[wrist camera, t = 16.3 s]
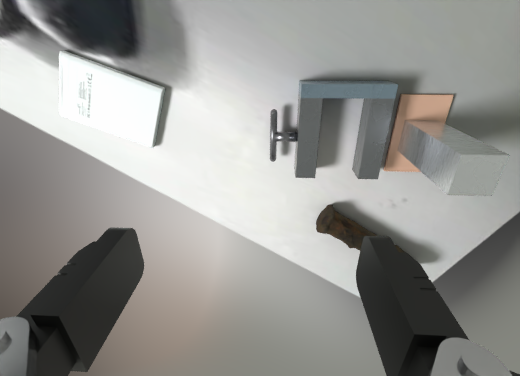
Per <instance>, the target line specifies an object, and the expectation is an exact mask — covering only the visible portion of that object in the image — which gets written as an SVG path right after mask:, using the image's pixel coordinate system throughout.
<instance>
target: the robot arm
mask: <svg viewBox="0 0 520 376" xmlns="http://www.w3.org/2000/svg"><path fill="white" fill-rule="evenodd" d="M143 270H144V261H143V257H142V253H141V249H140V245H139V242H138V238H137V234H136V232H135V230H134V229H133V228H109V229H108V230H107V231H106V232H105V233H104V234H103V235H102V236H101V237H100V238H99V239H98V240H97V242H92V243H90V244H89V245H87V246H86V247H84V248H83V249H81V250H80V251H78V252H77V253H76V254H75V255H74V256H73V257H72V258H71V259H70V261H69V262H68V263H67V265H66V266H64V267H63V268H62V269H61V270H60V271H59V272H58V275H57V276H54V277H53V278H52V279H51V280H50V282H49V283H48V284H47V285H46V286H45V287H44V288H43V289H42V290H41V291H40V292H39V293H38V294H37V295H36V296H35V297H34V298H33V300H31V301H30V303H29V304H28V305H27V306H26V307H25V308H24V309H23V310H22V311H21V312H20V313H19V314H18V315H17V316H16V317H8V318H4V319H1V320H0V376H68V374H69V373H70V371H81V372H87V371H88V370H89V368H90V366H91V365H92V363H93V361H94V359H95V358H96V356H97V354H98V352H99V350H100V349H101V347H102V345H103V344H104V342H105V340H106V339H107V336H108V335H109V333H110V331H111V330H112V328H113V326H114V324H115V323H116V321H117V319H118V318H119V316H120V314H121V312H122V311H123V309H124V307H125V305H126V304H127V302H128V300H129V298H130V297H131V295H132V293H133V292H134V290H135V288H136V286H137V285H138V283H139V281H140V279H141V277H142V274H143ZM428 278H429V277H428V276H427V274H426V273H425V271H424V270H423V268H422V266H421V265H420V264H419V263H418V262H417V261H416V260H415V259H413V258H412V257H411V256H410V255H409V254H407V253H404V252H398V250H397V248H396V247H395V245H394V243H393V241H392V240H391V238H390V237H384V236H365V237H364V238H363V242H362V246H361V251H360V256H359V260H358V265H357V270H356V281H357V287H358V290H359V293H360V296H361V299H362V302H363V306H364V308H365V312H366V315H367V318H368V321H369V324H370V327H371V330H372V333H373V336H374V339H375V342H376V345H377V348H378V351H379V354H380V357H381V360H382V363H383V366H384V369H385V372H386V375H387V376H520V374H517V373H514V372H511V371H509V370H508V368H507V367H506V366H505V365H504V363H503V362H502V361H501V360H500V359H499V358H498V357H497V356H495V355H494V354H493V353H492V352H490V351H489V350H487V349H486V348H485V347H483V346H481V345H479V344H477V343H475V342H473V341H470V340H469V339H468V338H467V336H466V334H465V333H464V331H463V330H462V328H461V327H460V325H459V324H458V322H457V321H456V319H455V317H454V316H453V314H452V313H451V312H450V310H449V308H448V307H447V305H446V304H445V302H444V300H443V299H442V297H441V296H440V294H439V293H438V292H436V288H435V287H434V285H433V284H432V282H431V280H429V279H428Z"/></svg>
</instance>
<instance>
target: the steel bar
mask: <svg viewBox="0 0 520 376" xmlns="http://www.w3.org/2000/svg"><path fill="white" fill-rule="evenodd" d="M397 151H399V152H400V153H401V154H402V155H403V156H404V157H405V158H406V159H407V160H409V161H410V162H411V163H412V164H413V165H414V166H415V167H416V168H418V169H419V170H420V171H421V172H422V173H423V174H424V175H425V176H426V177H428V178H429V179H430V180H431V181H432V182H433V183H434V184H435V185H437V186H438V187H439V188H440V189H441V190H442V191H443V192H444V193H445V194H447V195H468V196H492V195H493V193H494V190H495V188H496V186H497V184H498V181H499V179H500V177H501V175H502V172H503V170H504V168H505V166H506V163H507V161H508V159H509V156H510V155H509V154H507V153H504V152H502V151H500V150H498V149H496V148H494V147H492V146H490V145H488V144H486V143H484V142H482V141H480V140H478V139H475V138H473V137H471V136H469V135H467V134H465V133H463V132H461V131H459V130H457V129H455V128H453V127H451V126H449V125H446V124H444V123H442V122H440V121H438V120H405V121H404V125H403V129H402V134H401V138H400V142H399V146H398V150H397Z"/></svg>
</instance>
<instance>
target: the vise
mask: <svg viewBox="0 0 520 376" xmlns="http://www.w3.org/2000/svg"><path fill="white" fill-rule="evenodd" d="M397 88H398V84H396V83H393V82H390V81H300V82H299V99H298V115H297V132H277V110H275V109H273V110H271V126H270V160H271V161H272V162H274V161H275V160H276V142H277V141H290V142H296V149H295V166H294V169H295V177H296V178H315V173H316V163H317V152H318V142H319V132H320V122H321V112H322V102H323V98H364V102H363V108H362V114H361V120H360V126H359V132H358V138H357V144H356V150H355V156H354V162H353V168H352V170H353V171H354V173H355V175H356V176H357V178H358V179H378V176H379V171H380V166H381V162H382V157H383V153H384V148H385V143H386V139H387V134H388V130H389V125H390V120H391V116H392V111H393V107H394V102H395V97H396V93H397Z"/></svg>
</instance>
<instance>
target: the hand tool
mask: <svg viewBox="0 0 520 376" xmlns="http://www.w3.org/2000/svg"><path fill="white" fill-rule="evenodd" d="M316 225H317V226H316V229H317V232H320V233H324V234H326V233H327V234H330V235H332V236H333V237H335V238H337V239H340V240H341V241H343V242H344V243H346V244H347V245H348V247H349V248H356V249H358V250H360V251H361V246H362V242H363V238H364V237H365V236H377V235H376V234H374V233H372V232H370V231H368V230H367V229H365V228H363V227H362V226H360V225H359V224H357V223H356V222H355V221H352V220H350V219H348V218H346V217H344V216H343V215H341V214H339V213H338V212H336V211H335V210H334V208H333V205H328V206H327V207H326V208H325V209H324V210H323V211H322V212H321V213H320V215H319V217H318V218H317V221H316ZM394 245H395V244H394ZM395 247H396V248H397V250H398V252H404V251H403V250H402V249H401V248H399V247H398V246H397V245H395ZM404 253H406V252H404Z"/></svg>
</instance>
